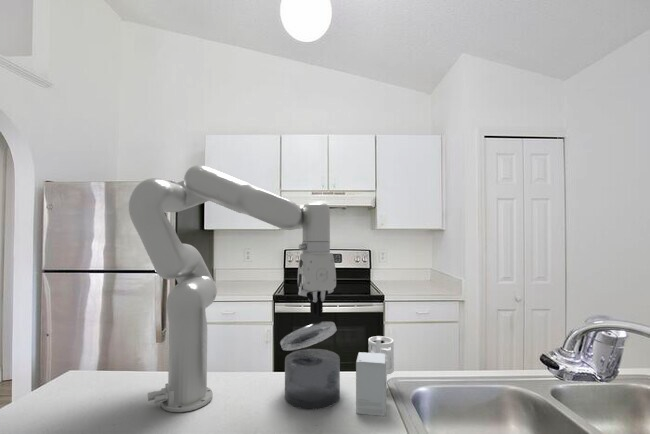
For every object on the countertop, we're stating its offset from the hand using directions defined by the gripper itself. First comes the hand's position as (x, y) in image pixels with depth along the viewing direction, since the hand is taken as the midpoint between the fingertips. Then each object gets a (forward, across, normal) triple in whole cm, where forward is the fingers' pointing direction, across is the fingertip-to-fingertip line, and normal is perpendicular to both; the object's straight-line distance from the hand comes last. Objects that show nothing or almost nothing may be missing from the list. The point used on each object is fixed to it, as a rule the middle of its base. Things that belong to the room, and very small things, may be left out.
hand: (316, 315), depth 92 cm
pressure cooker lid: (+7, 0, +4) cm, 8 cm away
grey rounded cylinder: (+22, 0, +2) cm, 22 cm away
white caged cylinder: (+22, +18, -6) cm, 29 cm away
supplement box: (+22, +9, -12) cm, 27 cm away
